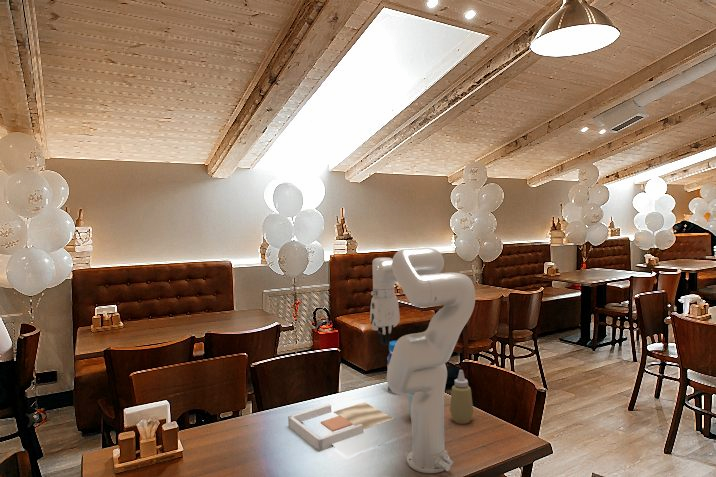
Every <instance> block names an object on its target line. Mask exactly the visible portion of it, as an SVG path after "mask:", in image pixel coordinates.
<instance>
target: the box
mask: <svg viewBox="0 0 716 477" xmlns="http://www.w3.org/2000/svg"><path fill="white" fill-rule="evenodd" d="M330 413H332V405H331V404H326V405H323V406H319V407H316V408H312V409H308V410H305V411H303V412H300V413H296V414H292V415H289V416H288V417H287V418H288V427H289V429H291V430H292V431H294V432H295V433H296V434H297V435H299V436H300V437H301V438H302V439H304V440H305V441H306V442H308V444H309V445H311V446H312V447H313V448H315V449H316V450H317V451H319V452H321V451H323V450H326V449H329V448H333V447H334V444H335V443H338V442H341V441H344V440H347V439H349V438H352V437H355V436H358V435H361V434H363V433H364V430H363V425H362V424H359V425H356V426H354V425H352V426H349V427H346V428H345V429H344V428H343V429H341V430H338V431H336V432H332V433H331V434H327V435H325V436H319V435H318V434H317V433H315V432H314V431H313V430H311V429H310V428H308V427H307V426H306V425H304V422H305V421H307V420H310V419H314V418H317V417H320V416H323V415H326V414H330Z"/></svg>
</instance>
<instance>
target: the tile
mask: <svg viewBox="0 0 716 477" xmlns="http://www.w3.org/2000/svg"><path fill="white" fill-rule="evenodd" d="M320 424H321V425H323V426H324V427H326V428H327V429H329V430H330V431H331V432H335V431H336V432H337V431H340V430H343V429H344V428H345V429H346V428H349V427H352V426H354V425H353V423H351V422H350V421H348V420H346V419H345V418H343V417H342V416H339V415H337V416H335V417H330V418H329V419H324V420H321V421H320Z"/></svg>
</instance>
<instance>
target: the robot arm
mask: <svg viewBox="0 0 716 477" xmlns="http://www.w3.org/2000/svg"><path fill="white" fill-rule="evenodd" d="M444 266H445V259H444V257H443V255H442V253H441V252H440V251H439V250H437V249H434V248H432V247H431V248H430V247H420V248H406V249H405V248H404V249H400V250H397V252H396V253H394V255H393V257H385V256H384V257H376V258H374V259H373V260H372V291H371V292H370V295H371V296H372V298H371V300H370V301H371V302H370V310H369V311H370V312H369V321H370V325H371V330H372V331H377V332H378V334H379V341H380V344H381V345H382V346H389V345H390V342H391V340H390V339H391V337H390V335H391V333H392V330H393V328H395V327H397V326H398V324H399V323H400V319H401V318H400V316H401V315H400V307H399V300H398V297H397V295H396V293H395V291H396V290H395V282H397V283H398V285H399V287H400V288H401V289H402V292H403V293H404V295H405V297H406V298H407V300H408V302H409V303H410V304H411V305H412V306H414V307H416V308H422V309H423V308H430V307H431V308H432V307H441V306H443V307H442V308H440V309H439V310H438V311H437V312H436V313H435V314H434V315H433V316H432V318H431V319H430V321H429V323H428V327H427V329H425V331H420V332H417V333H409V334H405V335H402V336H401V337H399V338H398V339H397V340H396V341H397V342H396V344H395V347H394V350H393V353H392V356H391V360H390V363H389V366H388V368H387V372H386V382H387V387H388V386H389V388H390V389H391V391H392V392H394V393H396V395H408V394H409V393H414V392H415V394H414V396H413V399H412V403H411V417H410V420H411V451H410V452H409V453H408V454H407V456H406V461H407V462H406V463H407V465H408V466H409V467H410V468H411V469H412V470H414V471H415V472H416V471H417V472H419V473H424V474H436V473H437V474H438V473H440V472H441V473H442V472H444V471H446V472H449V471H450V470H451V466H452V465H453V464H454V460H453V459H451V458H450V456H449V454H448V451H447V450H446V449H445V391H446V384H447V380H448V370H447V365H446V363H448V361H449V360H450V358H451V357H452V354H453V352H454V350H455V347H456V346H457V342H458V340H459V338H460V335H461V333H462V331H463V329H464V327H465V326H466V325H467V323H468V322H469V319H470V318H471V316H472V314H473V312H474V309H475V304H476V290H475V286H474V283H473V281H472V279H471V278H470V277H469V276H468V275H466V274H464V273H460V272H442V271H443V270H444ZM394 393H393V394H394Z"/></svg>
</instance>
